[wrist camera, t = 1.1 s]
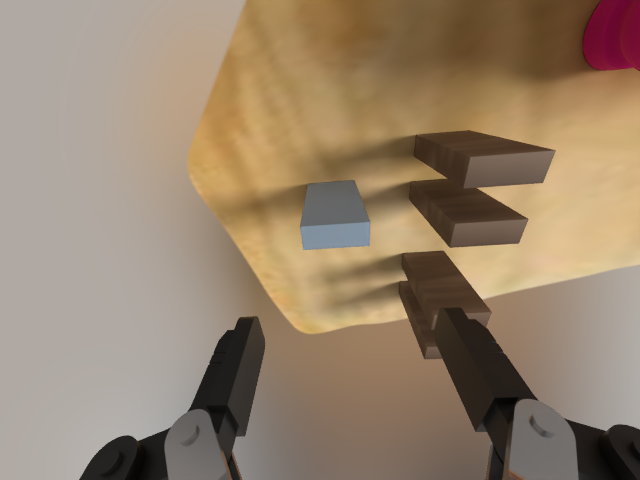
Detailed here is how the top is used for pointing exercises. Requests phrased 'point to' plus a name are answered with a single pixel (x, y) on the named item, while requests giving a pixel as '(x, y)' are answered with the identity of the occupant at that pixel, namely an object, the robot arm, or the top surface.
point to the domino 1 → (334, 216)
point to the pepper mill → (613, 35)
